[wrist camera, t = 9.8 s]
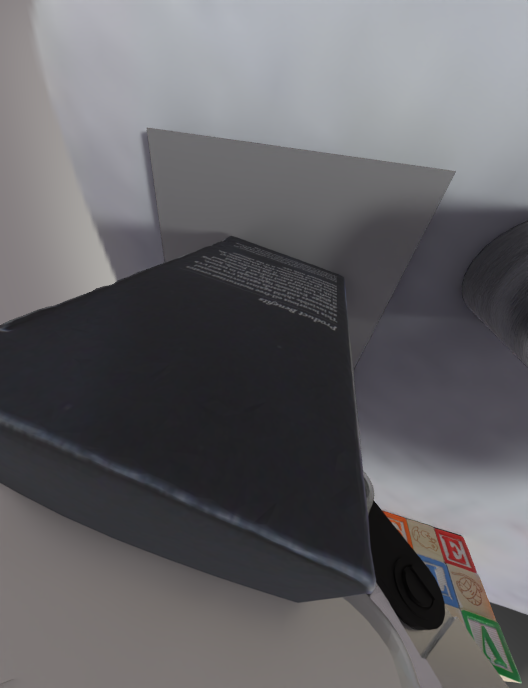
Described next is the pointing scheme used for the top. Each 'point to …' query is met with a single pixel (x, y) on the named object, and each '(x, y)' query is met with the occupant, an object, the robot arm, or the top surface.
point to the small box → (199, 419)
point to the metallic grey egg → (502, 289)
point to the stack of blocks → (460, 588)
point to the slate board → (298, 210)
